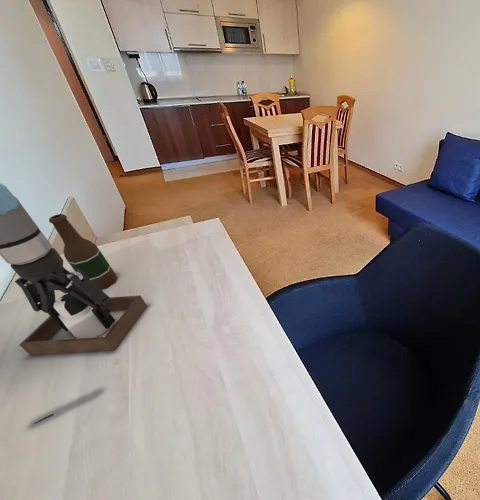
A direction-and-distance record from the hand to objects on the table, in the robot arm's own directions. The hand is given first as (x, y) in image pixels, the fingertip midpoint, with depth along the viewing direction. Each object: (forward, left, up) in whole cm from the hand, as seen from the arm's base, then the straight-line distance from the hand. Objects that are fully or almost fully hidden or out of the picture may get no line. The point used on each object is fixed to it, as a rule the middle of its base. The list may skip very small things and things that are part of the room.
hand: (90, 325), depth 77 cm
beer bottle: (-11, +20, -2) cm, 23 cm away
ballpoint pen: (+9, -21, -2) cm, 23 cm away
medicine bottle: (0, 0, -2) cm, 2 cm away
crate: (0, 0, -2) cm, 2 cm away
